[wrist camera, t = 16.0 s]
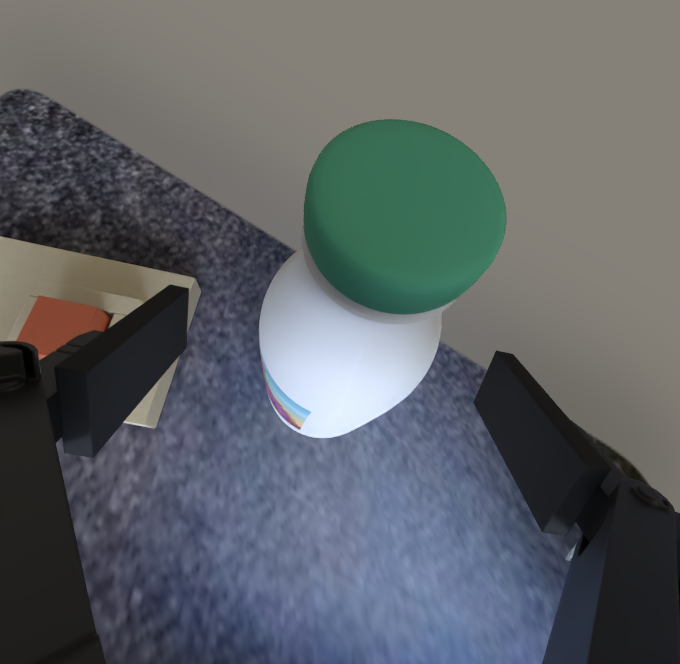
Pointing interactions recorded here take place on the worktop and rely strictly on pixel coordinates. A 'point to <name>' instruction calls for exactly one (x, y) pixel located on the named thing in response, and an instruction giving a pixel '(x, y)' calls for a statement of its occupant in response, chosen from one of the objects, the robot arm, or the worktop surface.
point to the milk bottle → (375, 272)
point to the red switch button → (59, 323)
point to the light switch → (84, 296)
